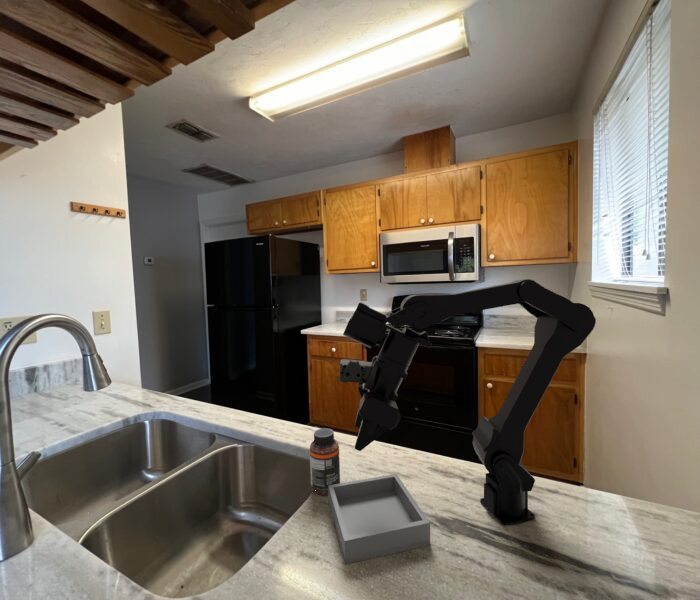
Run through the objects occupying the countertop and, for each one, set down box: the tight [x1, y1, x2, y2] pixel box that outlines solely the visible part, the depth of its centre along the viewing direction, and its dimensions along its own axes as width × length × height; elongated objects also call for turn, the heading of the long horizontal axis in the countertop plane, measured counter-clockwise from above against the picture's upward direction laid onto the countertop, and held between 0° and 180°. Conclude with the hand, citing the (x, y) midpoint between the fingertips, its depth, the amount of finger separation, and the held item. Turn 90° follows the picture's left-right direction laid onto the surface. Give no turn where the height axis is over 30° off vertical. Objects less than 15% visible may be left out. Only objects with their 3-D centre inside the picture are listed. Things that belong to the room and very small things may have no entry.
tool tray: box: [327, 473, 431, 565], centre depth 54 cm, size 14×14×4 cm
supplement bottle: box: [309, 427, 341, 496], centre depth 64 cm, size 6×6×11 cm
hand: (357, 437), depth 57 cm, fingers open, 9 cm apart
